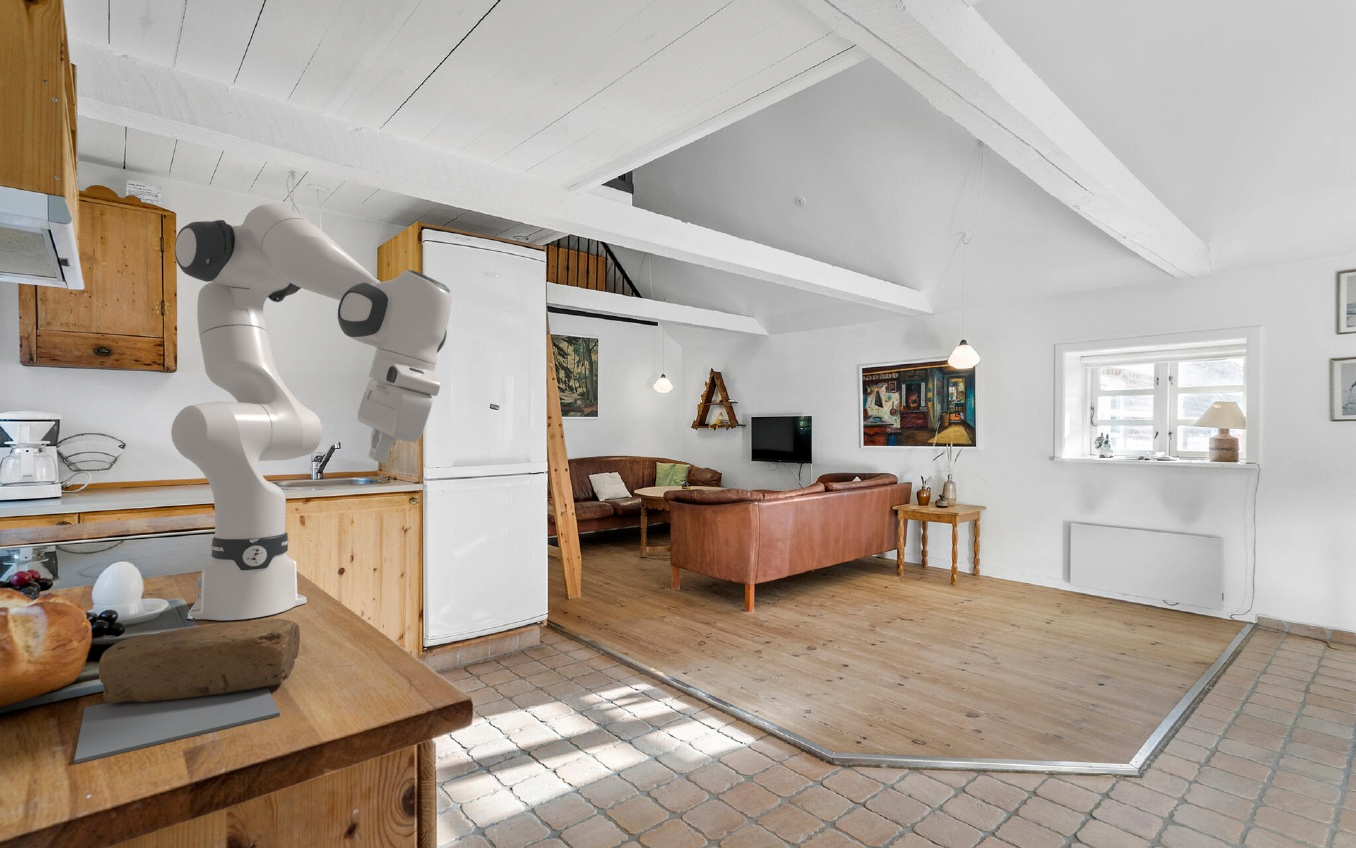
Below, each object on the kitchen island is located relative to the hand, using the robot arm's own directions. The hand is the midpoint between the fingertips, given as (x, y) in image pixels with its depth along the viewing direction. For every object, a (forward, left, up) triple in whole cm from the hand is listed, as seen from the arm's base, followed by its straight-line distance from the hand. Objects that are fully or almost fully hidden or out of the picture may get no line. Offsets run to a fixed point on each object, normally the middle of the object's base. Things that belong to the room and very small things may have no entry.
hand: (376, 460), depth 101 cm
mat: (+10, -24, -30) cm, 39 cm away
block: (+6, -12, -25) cm, 28 cm away
